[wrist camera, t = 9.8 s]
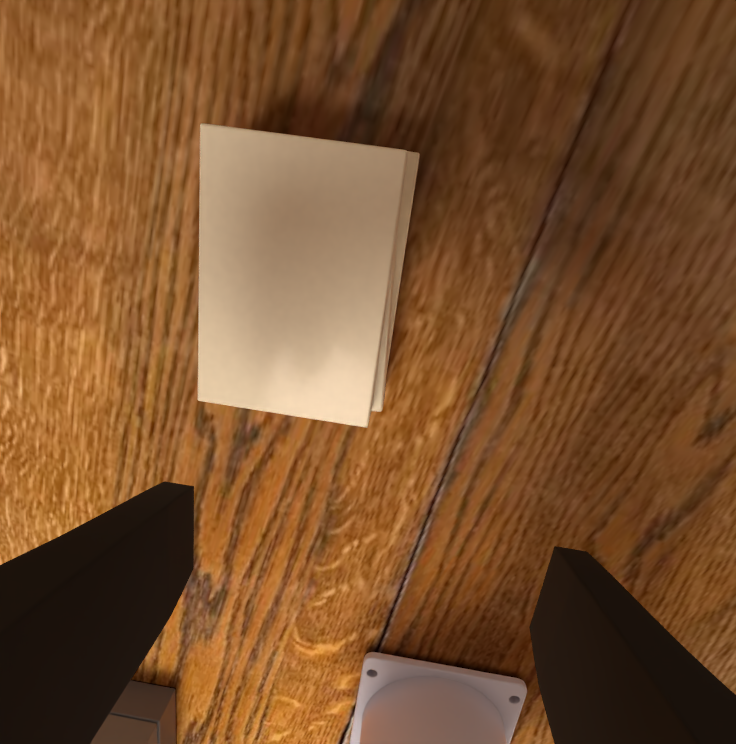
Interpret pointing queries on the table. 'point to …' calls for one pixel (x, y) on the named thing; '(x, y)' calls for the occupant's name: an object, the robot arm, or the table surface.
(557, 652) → the robot arm
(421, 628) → the table surface
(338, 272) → the cream rectangular slab
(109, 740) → the grey books
